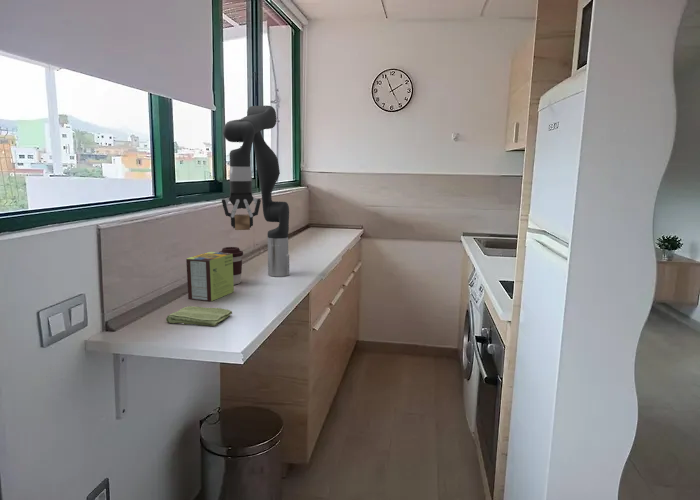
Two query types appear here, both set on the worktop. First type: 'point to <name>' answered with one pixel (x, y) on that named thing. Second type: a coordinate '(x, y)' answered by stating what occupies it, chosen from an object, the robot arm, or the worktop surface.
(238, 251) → the coffee cup
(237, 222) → the walnut cube
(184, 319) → the washcloth
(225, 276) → the protein box
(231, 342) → the worktop surface
